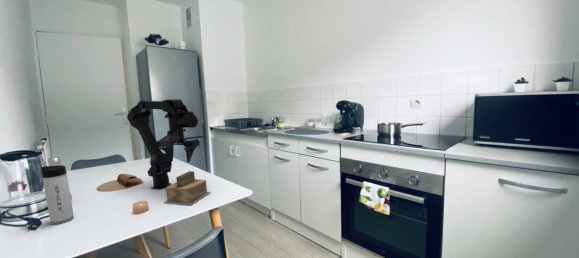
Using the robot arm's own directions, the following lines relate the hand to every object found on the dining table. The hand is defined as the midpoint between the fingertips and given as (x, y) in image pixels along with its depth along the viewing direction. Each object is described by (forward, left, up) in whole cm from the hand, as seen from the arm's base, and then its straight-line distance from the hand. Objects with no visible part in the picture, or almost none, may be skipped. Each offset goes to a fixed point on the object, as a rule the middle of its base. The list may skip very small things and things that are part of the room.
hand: (180, 162), depth 115 cm
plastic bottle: (-40, -24, -13) cm, 49 cm away
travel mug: (-24, -34, -13) cm, 44 cm away
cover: (+9, -8, -13) cm, 17 cm away
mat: (+9, -8, -13) cm, 18 cm away
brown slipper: (-37, +5, -14) cm, 40 cm away
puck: (-1, -22, -13) cm, 26 cm away
